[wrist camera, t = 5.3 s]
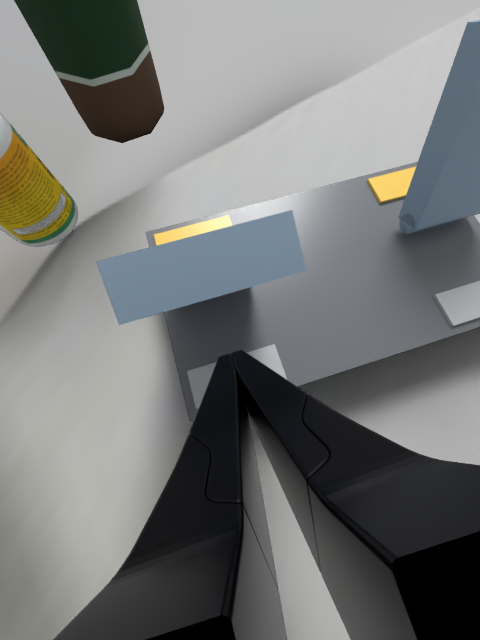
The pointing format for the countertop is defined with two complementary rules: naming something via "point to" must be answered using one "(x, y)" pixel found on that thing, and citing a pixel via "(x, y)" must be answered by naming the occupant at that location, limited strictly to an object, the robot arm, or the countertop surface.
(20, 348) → the countertop surface
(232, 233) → the panel
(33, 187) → the supplement bottle
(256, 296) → the switch panel
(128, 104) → the beer bottle
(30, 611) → the countertop surface
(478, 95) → the upright blue panel
